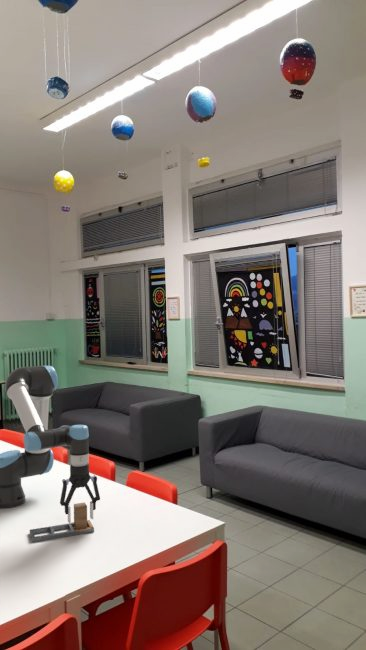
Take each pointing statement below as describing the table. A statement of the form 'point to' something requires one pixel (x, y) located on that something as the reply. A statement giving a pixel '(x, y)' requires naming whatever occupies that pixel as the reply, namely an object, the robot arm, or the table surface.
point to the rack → (61, 534)
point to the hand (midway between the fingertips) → (80, 519)
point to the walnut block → (80, 515)
